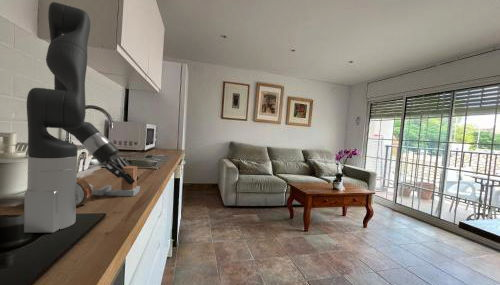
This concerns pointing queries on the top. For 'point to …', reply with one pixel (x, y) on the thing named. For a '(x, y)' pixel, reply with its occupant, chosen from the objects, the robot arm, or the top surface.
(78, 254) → the top surface
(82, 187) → the tin
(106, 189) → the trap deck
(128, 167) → the block
